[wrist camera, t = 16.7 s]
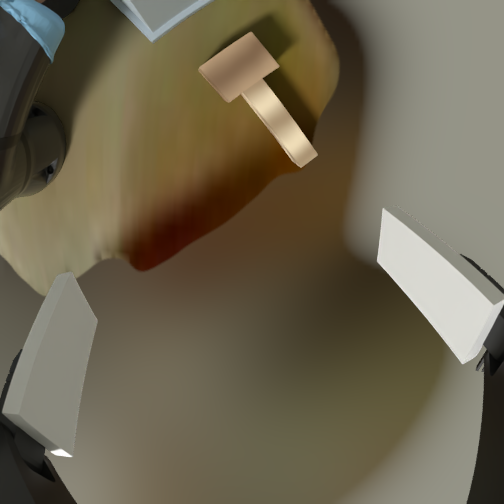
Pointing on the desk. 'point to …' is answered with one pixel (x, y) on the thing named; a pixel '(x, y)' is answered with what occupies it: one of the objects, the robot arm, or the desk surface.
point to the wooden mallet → (257, 92)
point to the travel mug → (59, 6)
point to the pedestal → (158, 14)
